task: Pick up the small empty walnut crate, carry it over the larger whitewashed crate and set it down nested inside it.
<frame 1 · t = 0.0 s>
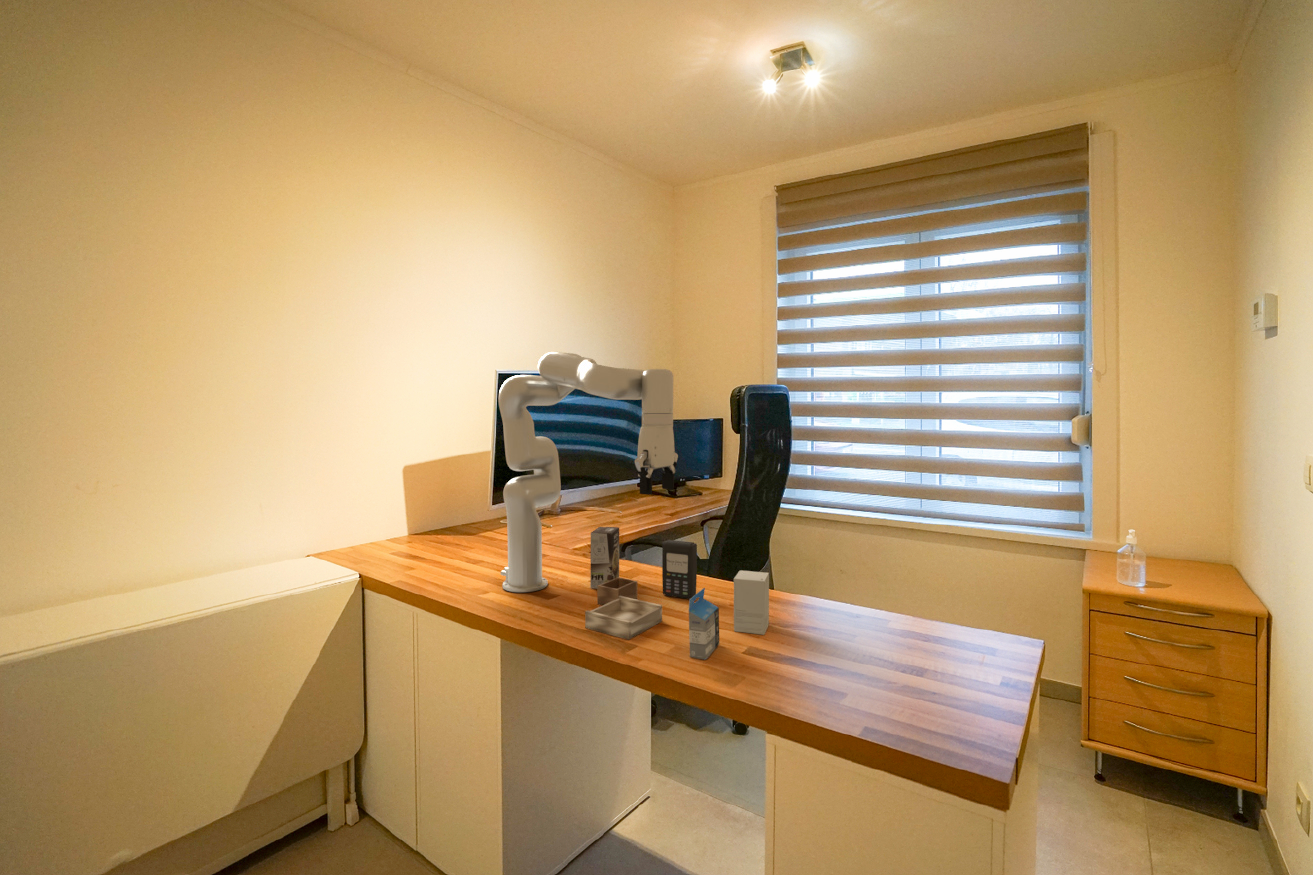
hand: (657, 491, 146), 31 cm above the table, fingers open, 9 cm apart
card reader: (678, 596, 164), on the table
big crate: (624, 624, 144), on the table
label tape box: (704, 651, 129), on the table
small crate: (617, 601, 160), on the table
coffee box: (605, 585, 175), on the table
supplement box: (751, 628, 142), on the table
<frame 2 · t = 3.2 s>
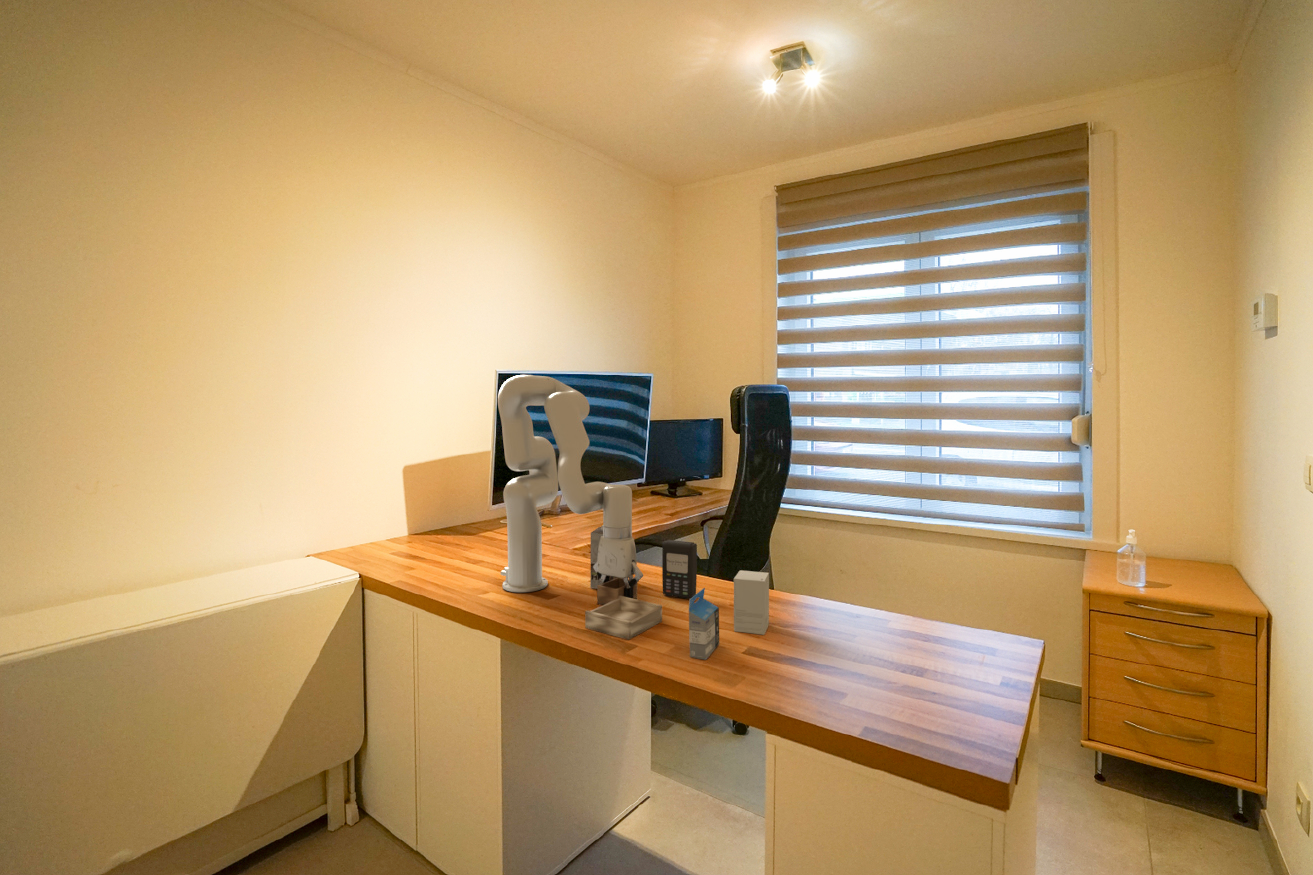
hand: (617, 598, 160), 1 cm above the table, fingers closed on small crate, 6 cm apart
small crate: (617, 601, 160), on the table, touching gripper
everything else where it was.
when the fingers open (4 cm above the table, at t = 8.9 s): small crate drops 2 cm, resting on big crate.
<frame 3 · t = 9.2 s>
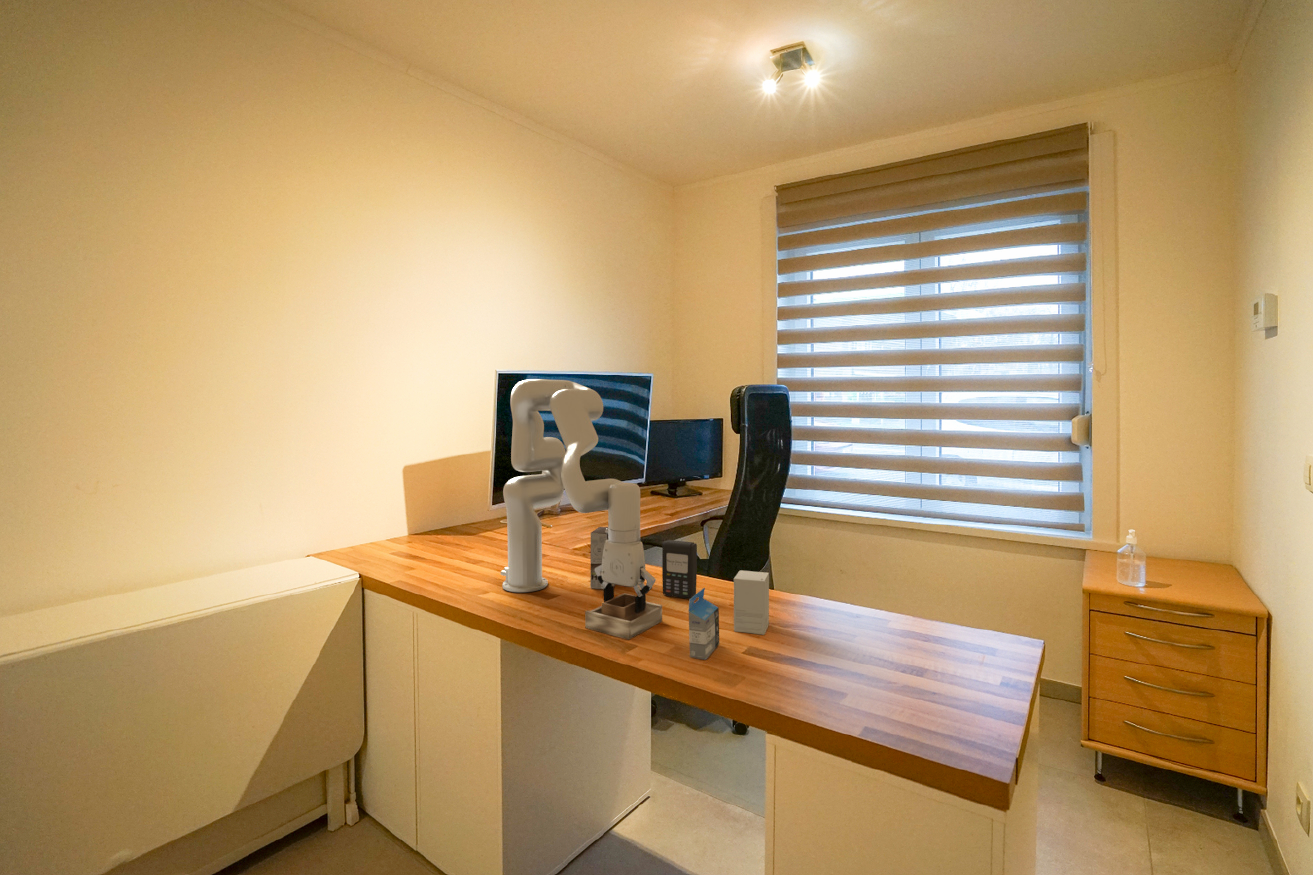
hand: (624, 607, 143), 4 cm above the table, fingers open, 8 cm apart
small crate: (624, 621, 144), point 1 cm above the table, touching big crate
everything else where it was.
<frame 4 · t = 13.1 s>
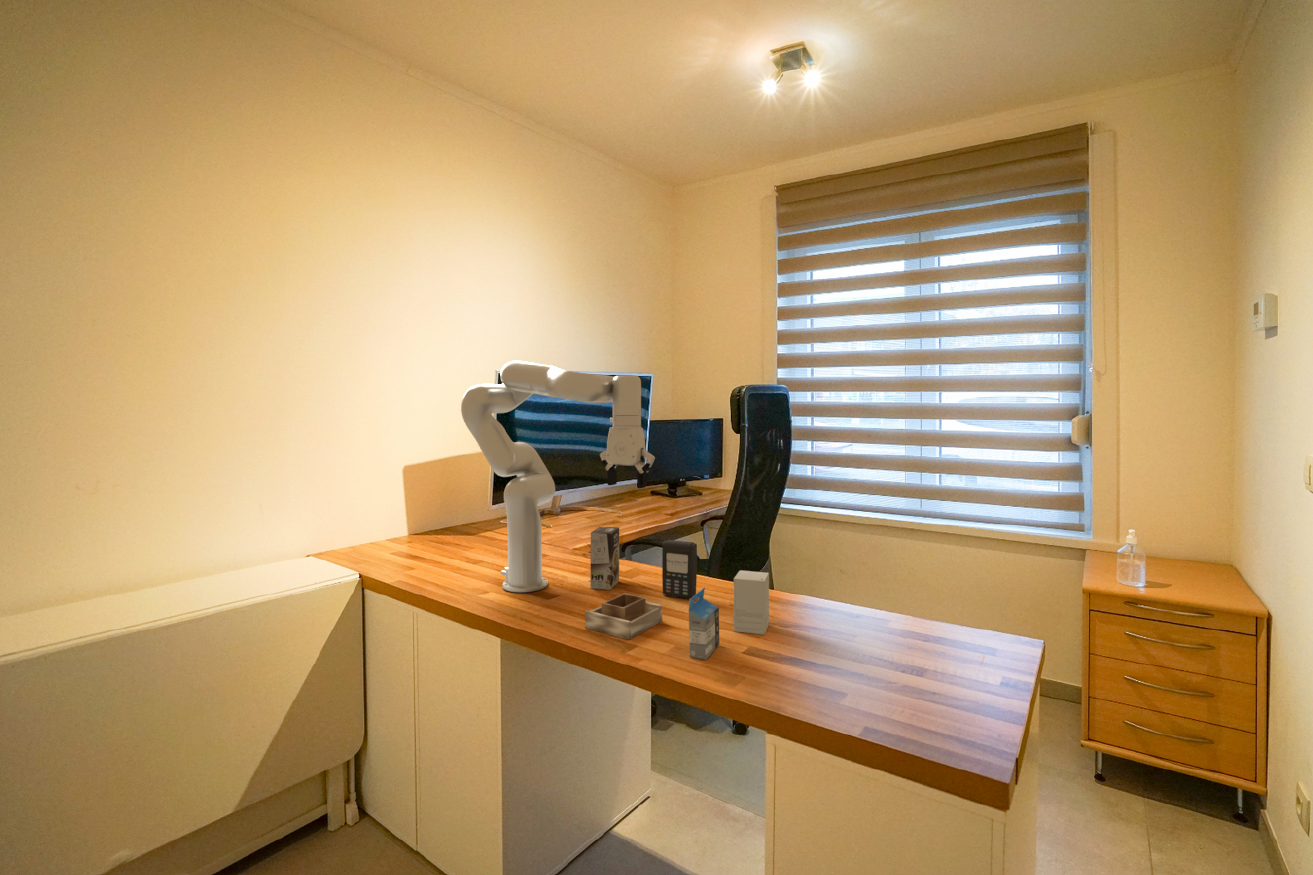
hand: (626, 486, 161), 30 cm above the table, fingers open, 9 cm apart
nothing on the table moved.
at the end: small crate 0.1 cm off-centre on the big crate, point 0.8 cm above the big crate's base; small crate tilted 0°; the gripper is holding nothing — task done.
